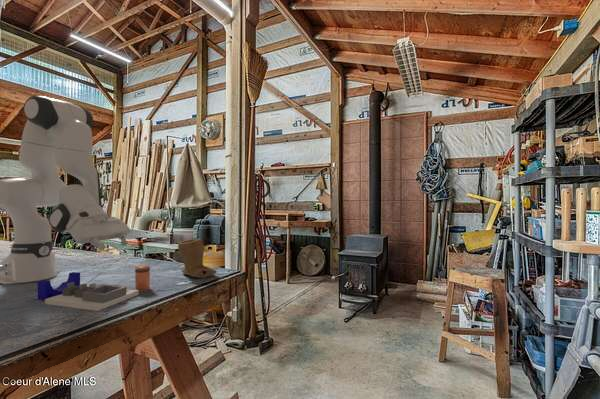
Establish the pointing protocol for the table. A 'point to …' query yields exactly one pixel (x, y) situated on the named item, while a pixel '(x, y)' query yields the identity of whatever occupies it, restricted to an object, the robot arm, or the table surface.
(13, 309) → the table surface
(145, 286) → the lockout cap
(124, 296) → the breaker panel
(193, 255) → the brown boot
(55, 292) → the blue u-shaped piece
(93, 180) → the robot arm
